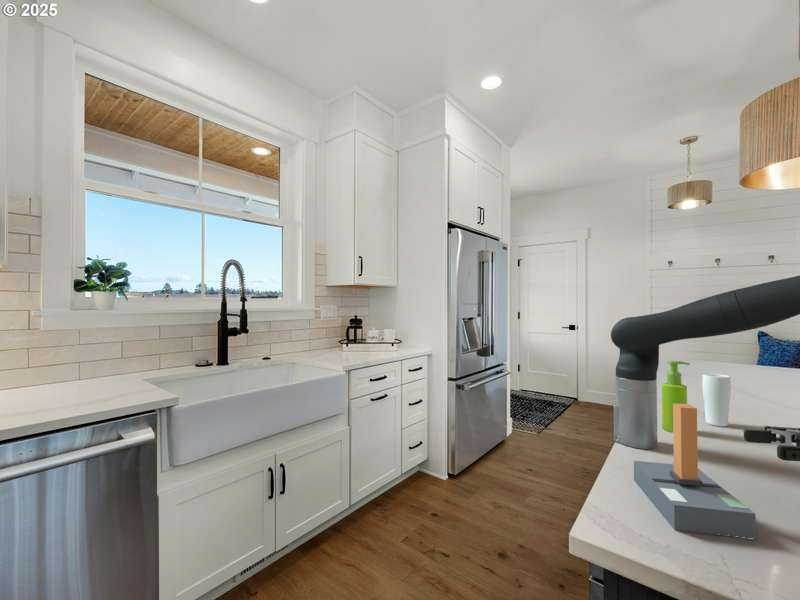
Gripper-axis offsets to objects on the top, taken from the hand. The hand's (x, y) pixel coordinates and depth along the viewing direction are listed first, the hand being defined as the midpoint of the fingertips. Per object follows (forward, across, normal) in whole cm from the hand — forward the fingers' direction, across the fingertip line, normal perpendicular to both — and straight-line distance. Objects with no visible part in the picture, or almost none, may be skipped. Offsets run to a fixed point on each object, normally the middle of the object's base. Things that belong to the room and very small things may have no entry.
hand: (760, 443), depth 66 cm
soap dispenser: (-7, -48, +12) cm, 50 cm away
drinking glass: (-21, -57, +12) cm, 62 cm away
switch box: (+12, 0, +12) cm, 17 cm away
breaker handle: (+12, 0, +8) cm, 14 cm away
